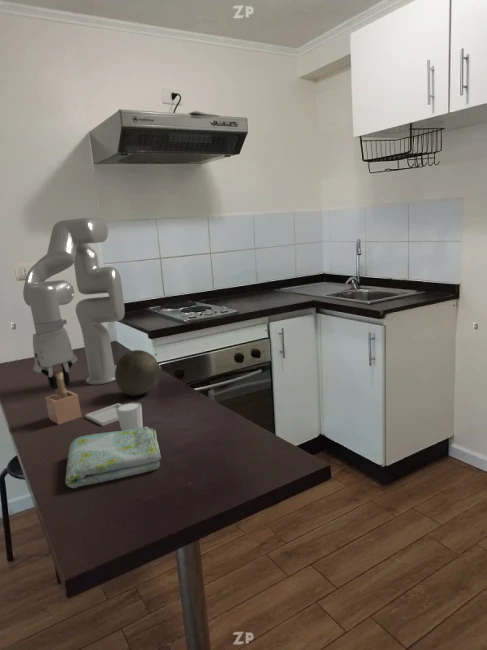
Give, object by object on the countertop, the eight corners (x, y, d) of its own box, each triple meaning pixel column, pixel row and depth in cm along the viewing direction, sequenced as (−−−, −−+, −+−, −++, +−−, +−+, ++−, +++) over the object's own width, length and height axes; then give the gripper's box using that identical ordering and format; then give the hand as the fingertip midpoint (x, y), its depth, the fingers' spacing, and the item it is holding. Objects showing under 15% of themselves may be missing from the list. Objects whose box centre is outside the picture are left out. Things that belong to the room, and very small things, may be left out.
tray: (119, 407, 151) (118, 403, 151) (137, 415, 143) (136, 410, 143) (86, 419, 144) (85, 414, 144) (103, 427, 136) (102, 422, 136)
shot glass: (149, 426, 134) (146, 402, 132) (136, 436, 127) (132, 412, 126) (128, 425, 136) (124, 401, 135) (114, 435, 130) (110, 411, 128)
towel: (165, 470, 108) (162, 449, 107) (66, 492, 103) (62, 470, 102) (156, 439, 125) (154, 420, 124) (71, 457, 120) (68, 438, 119)
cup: (72, 413, 150) (68, 390, 149) (82, 418, 145) (77, 394, 144) (49, 421, 146) (45, 397, 144) (58, 426, 140) (54, 401, 139)
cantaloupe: (130, 404, 153) (123, 359, 150) (112, 395, 164) (105, 353, 161) (169, 392, 161) (163, 349, 158) (148, 384, 172) (143, 344, 169)
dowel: (68, 410, 148) (60, 370, 145) (72, 412, 145) (64, 371, 143) (58, 413, 146) (50, 372, 143) (62, 415, 144) (54, 374, 141)
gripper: (70, 320, 148) (80, 376, 152) (15, 332, 137) (28, 392, 141) (80, 322, 143) (91, 380, 146) (24, 334, 132) (37, 397, 136)
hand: (60, 386), depth 144 cm, fingers closed on dowel, 3 cm apart
